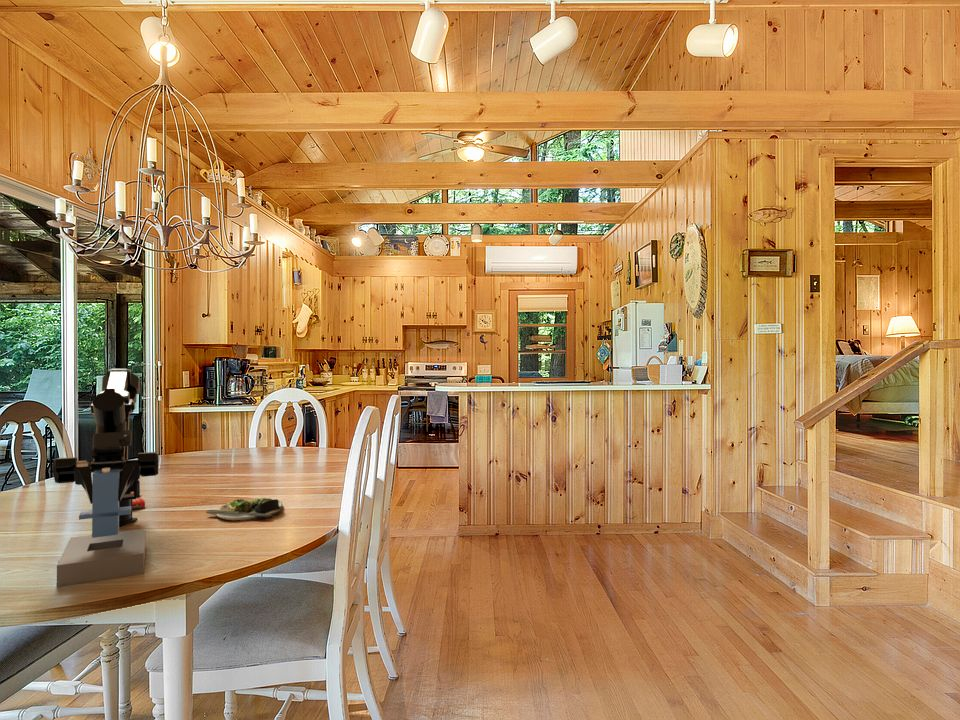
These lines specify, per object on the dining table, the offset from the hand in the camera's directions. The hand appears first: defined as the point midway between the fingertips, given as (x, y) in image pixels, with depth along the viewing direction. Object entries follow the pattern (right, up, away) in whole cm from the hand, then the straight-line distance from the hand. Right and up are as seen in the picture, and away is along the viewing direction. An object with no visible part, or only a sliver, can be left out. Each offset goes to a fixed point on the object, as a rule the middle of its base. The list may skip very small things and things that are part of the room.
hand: (105, 501), depth 115 cm
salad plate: (+14, -14, +40) cm, 45 cm away
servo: (-1, -7, +1) cm, 7 cm away
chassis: (-1, -13, +1) cm, 14 cm away
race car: (-24, -13, +46) cm, 53 cm away
